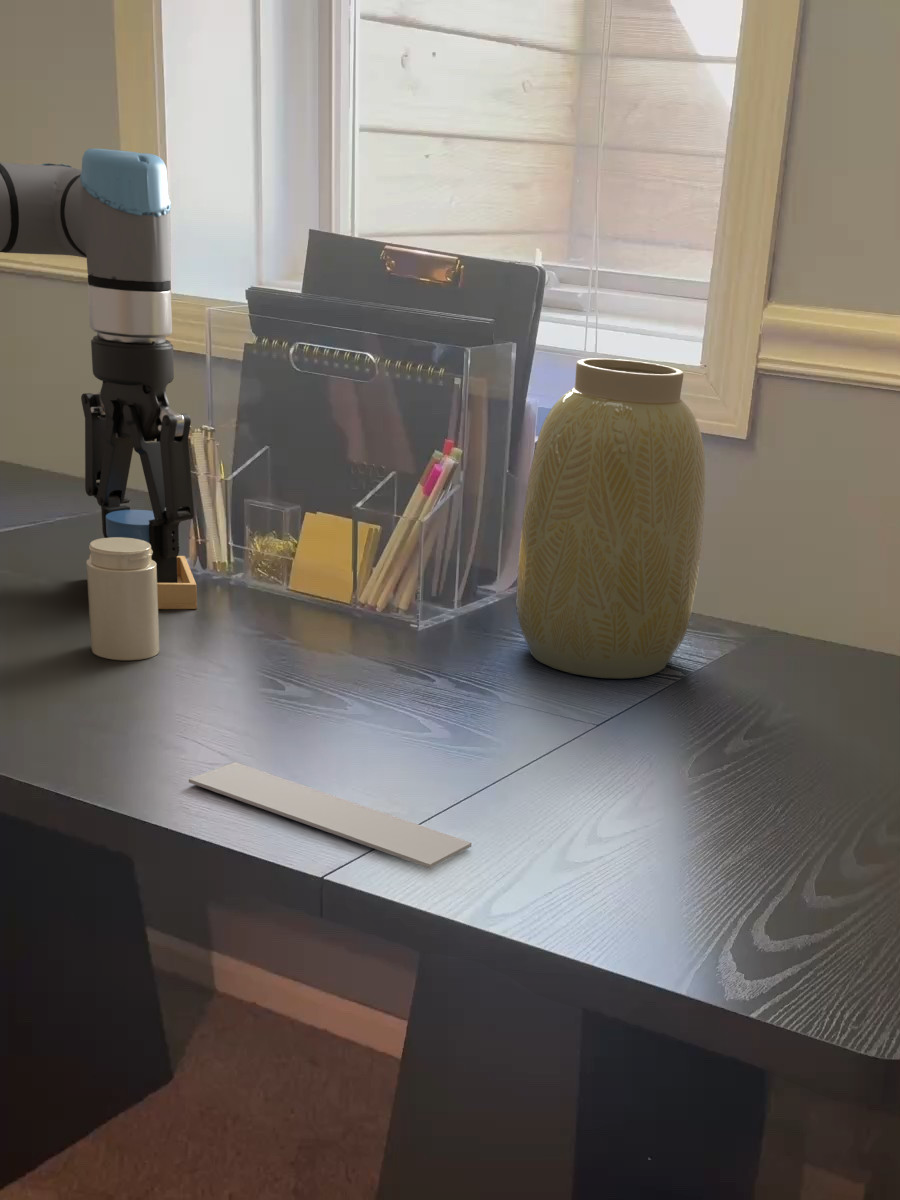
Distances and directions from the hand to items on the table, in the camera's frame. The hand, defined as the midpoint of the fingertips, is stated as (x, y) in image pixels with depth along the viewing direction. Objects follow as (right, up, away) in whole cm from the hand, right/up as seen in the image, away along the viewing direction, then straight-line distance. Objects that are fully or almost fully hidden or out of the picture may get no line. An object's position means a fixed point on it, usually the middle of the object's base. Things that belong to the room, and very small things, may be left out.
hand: (141, 579), depth 149 cm
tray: (0, -1, +1) cm, 1 cm away
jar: (+3, -11, -16) cm, 19 cm away
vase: (+46, -9, -5) cm, 48 cm away
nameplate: (+25, -29, -44) cm, 59 cm away
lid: (+1, +5, -3) cm, 6 cm away
